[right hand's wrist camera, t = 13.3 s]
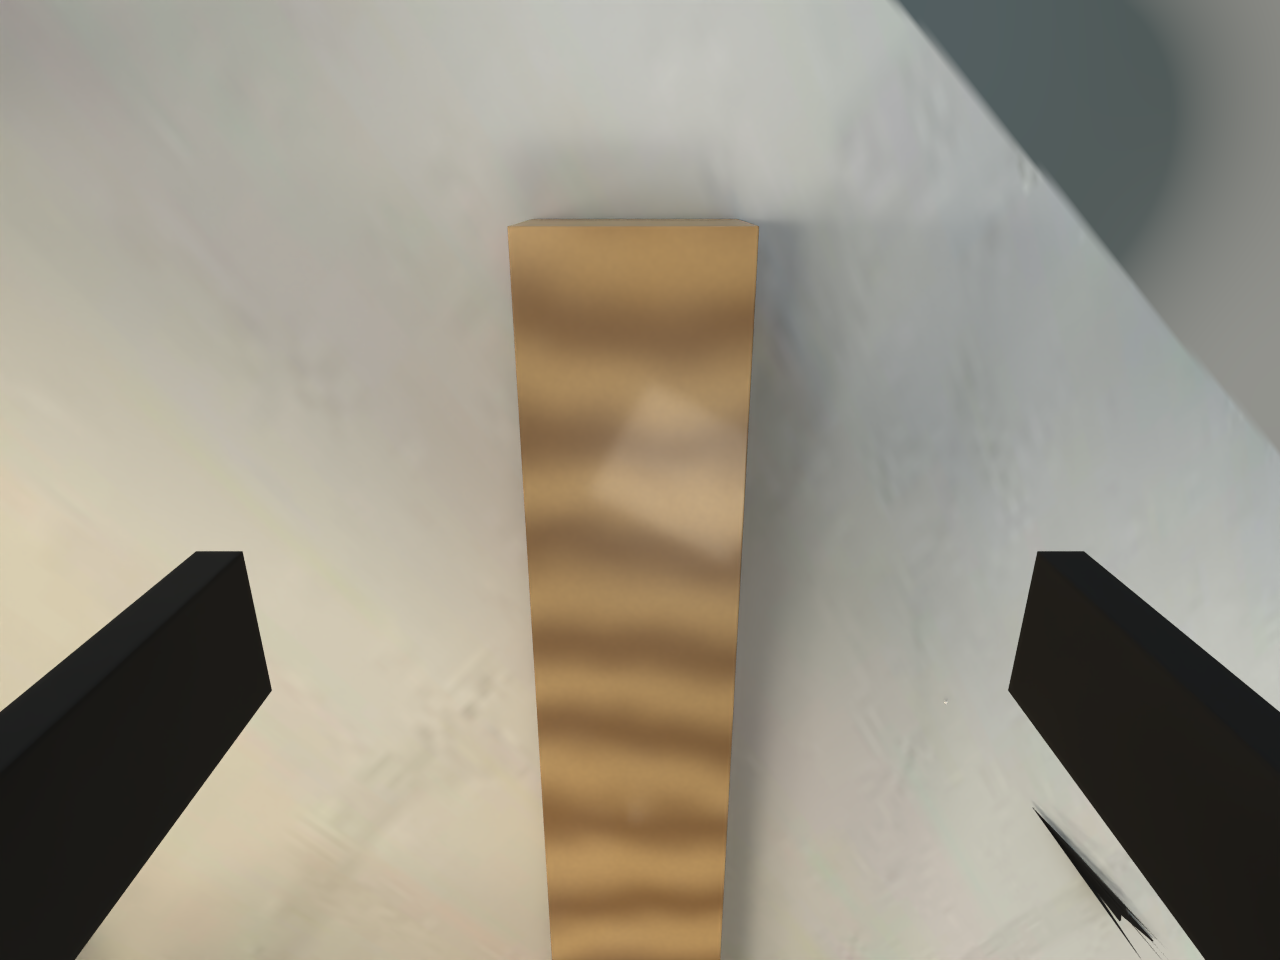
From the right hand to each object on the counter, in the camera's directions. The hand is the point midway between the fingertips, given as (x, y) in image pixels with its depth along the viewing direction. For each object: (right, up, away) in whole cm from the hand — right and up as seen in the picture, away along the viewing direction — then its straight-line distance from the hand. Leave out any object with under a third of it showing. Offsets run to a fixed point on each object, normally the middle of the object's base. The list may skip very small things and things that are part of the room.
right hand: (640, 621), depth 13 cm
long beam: (0, -24, +39) cm, 45 cm away
